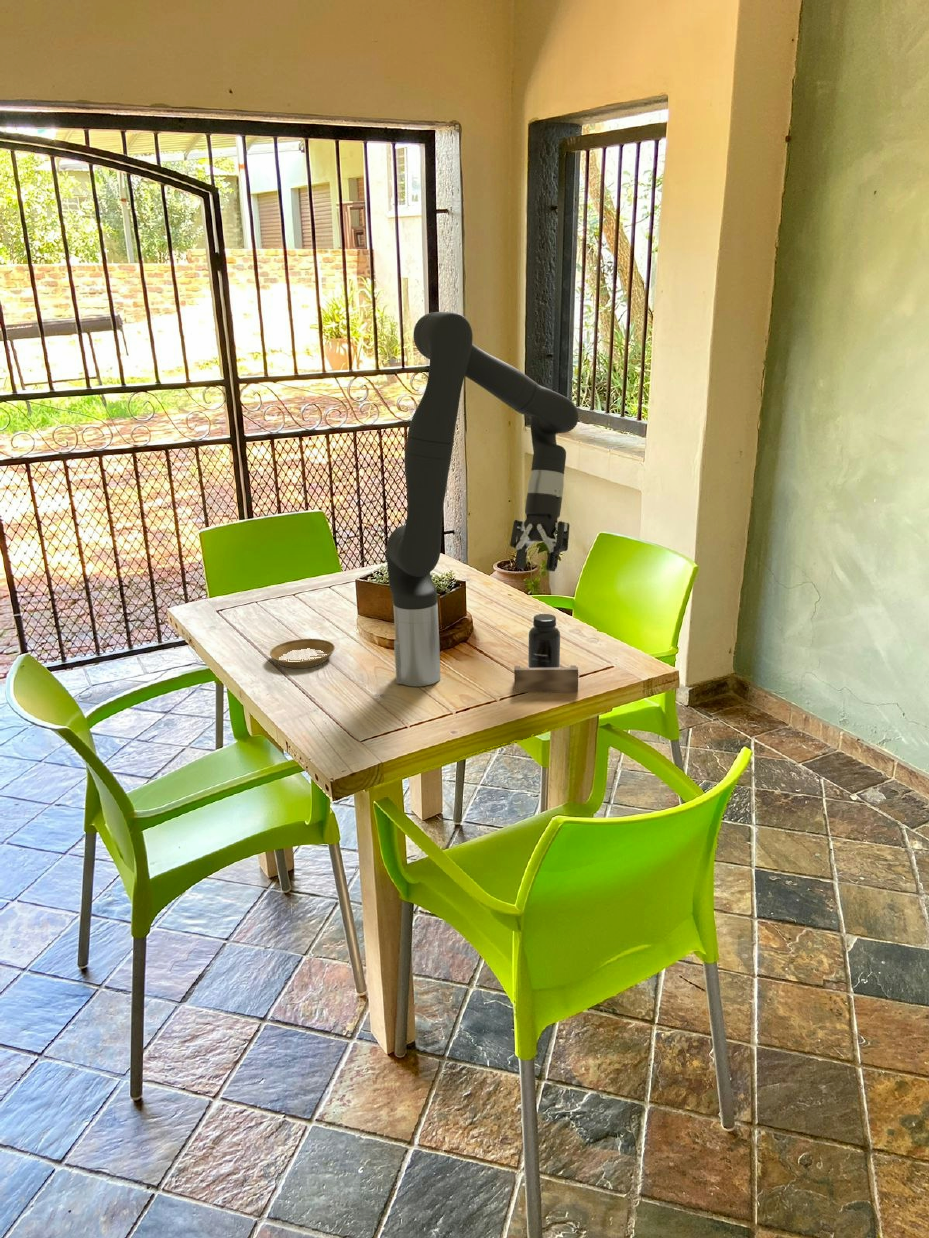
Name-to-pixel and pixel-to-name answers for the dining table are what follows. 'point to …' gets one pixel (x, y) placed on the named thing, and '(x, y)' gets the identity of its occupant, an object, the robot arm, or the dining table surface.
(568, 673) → the block
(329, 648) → the plant saucer
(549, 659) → the supplement bottle
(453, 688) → the dining table surface
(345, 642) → the dining table surface
